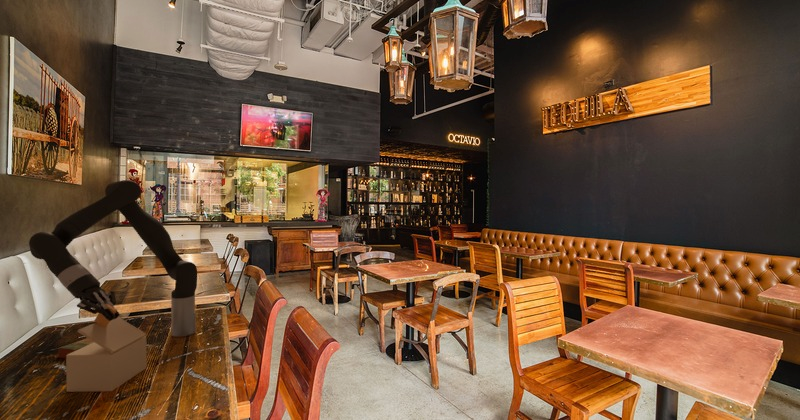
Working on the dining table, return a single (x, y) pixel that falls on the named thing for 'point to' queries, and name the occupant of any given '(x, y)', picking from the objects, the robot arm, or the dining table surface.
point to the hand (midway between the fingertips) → (115, 317)
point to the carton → (73, 347)
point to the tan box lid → (111, 332)
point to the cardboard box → (104, 366)
